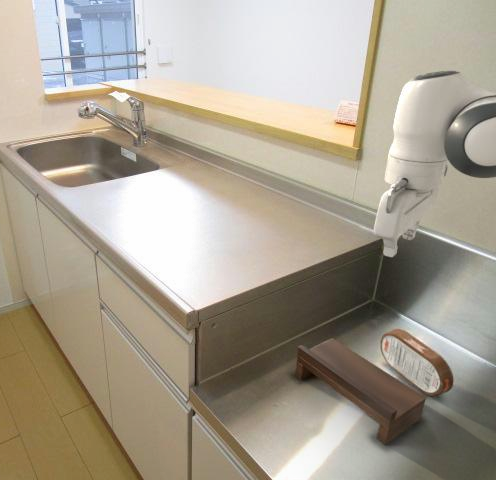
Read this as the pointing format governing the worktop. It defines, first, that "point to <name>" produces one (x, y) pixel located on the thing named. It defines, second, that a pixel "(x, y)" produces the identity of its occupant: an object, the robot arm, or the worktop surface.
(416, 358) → the tin
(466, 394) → the worktop surface
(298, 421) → the worktop surface
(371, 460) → the worktop surface
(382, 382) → the shelf
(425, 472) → the worktop surface
